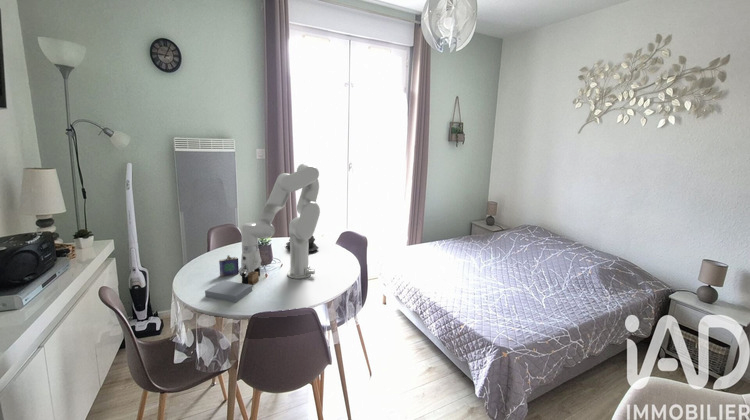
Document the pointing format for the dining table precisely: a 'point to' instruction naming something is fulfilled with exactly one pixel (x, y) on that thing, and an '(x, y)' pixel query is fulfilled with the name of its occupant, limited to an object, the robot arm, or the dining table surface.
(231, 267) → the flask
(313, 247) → the casserole
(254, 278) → the walnut cube
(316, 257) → the dining table surface
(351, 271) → the dining table surface
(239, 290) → the block
